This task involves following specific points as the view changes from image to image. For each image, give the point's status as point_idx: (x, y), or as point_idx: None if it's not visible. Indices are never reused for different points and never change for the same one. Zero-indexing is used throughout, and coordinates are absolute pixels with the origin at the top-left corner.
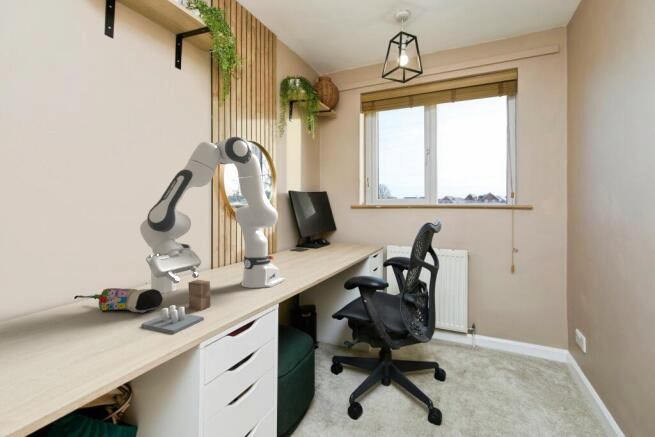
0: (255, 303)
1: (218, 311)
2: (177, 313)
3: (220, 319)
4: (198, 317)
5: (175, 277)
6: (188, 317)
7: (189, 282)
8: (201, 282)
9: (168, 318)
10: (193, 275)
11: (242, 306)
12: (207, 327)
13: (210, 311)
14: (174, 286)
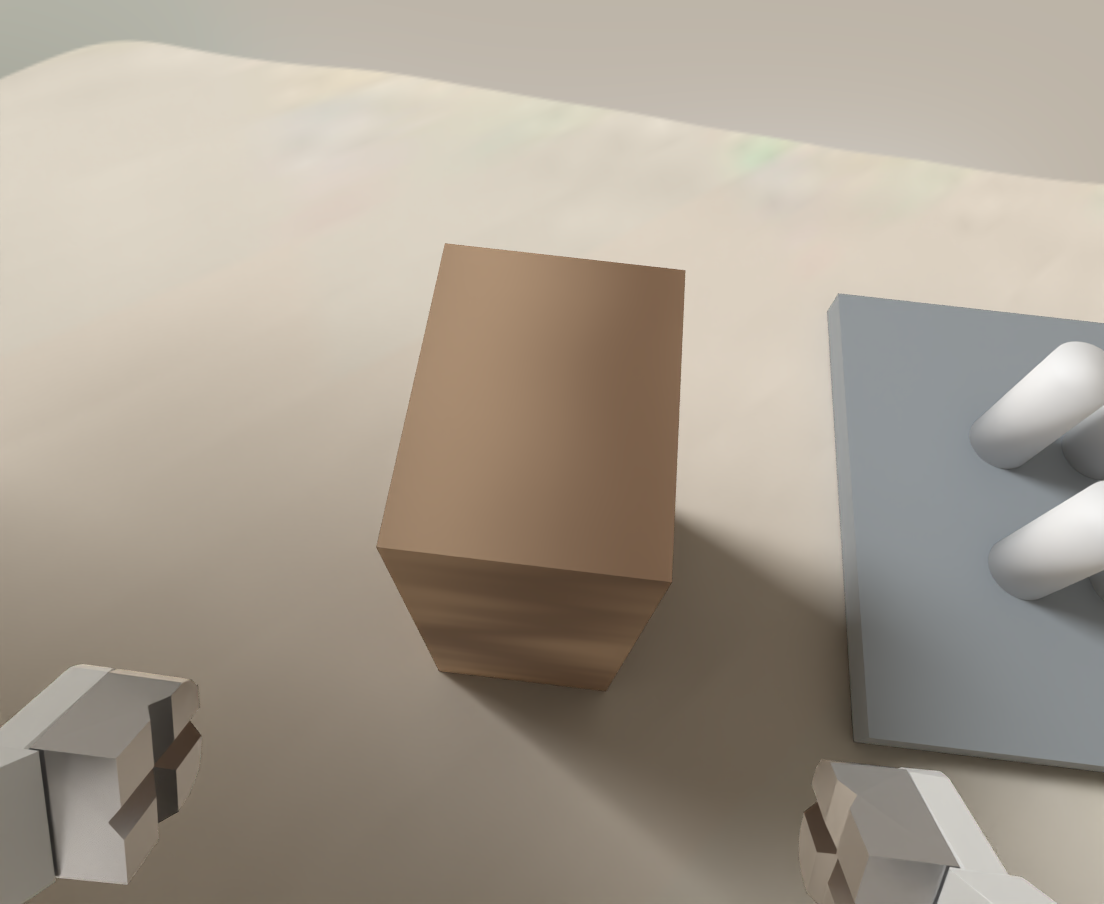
0: (271, 122)
1: None
2: (892, 620)
3: (752, 199)
4: (870, 329)
5: (966, 853)
6: (920, 415)
7: (672, 551)
8: (586, 320)
9: (1058, 601)
10: (152, 809)
11: (382, 184)
12: (935, 203)
13: None
14: None
